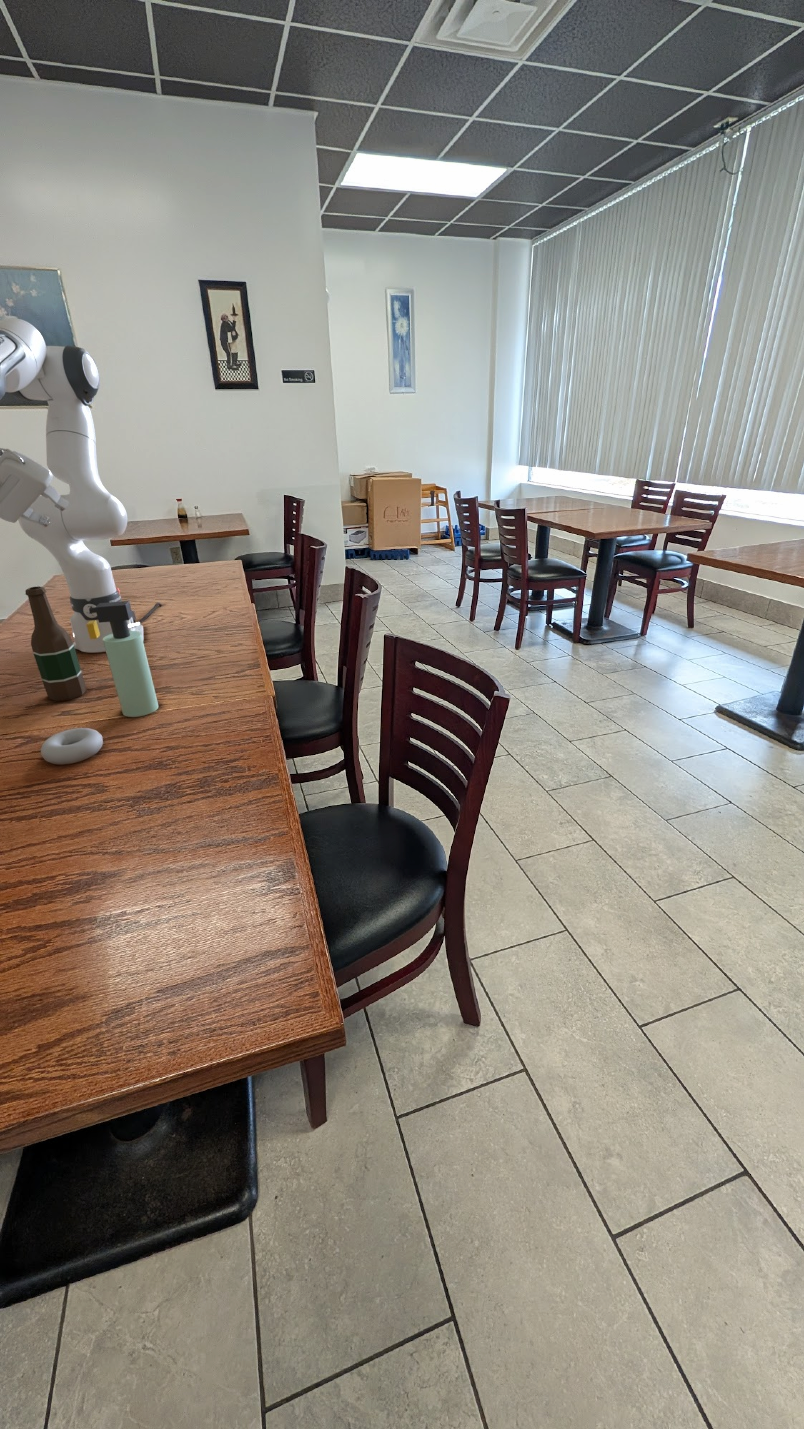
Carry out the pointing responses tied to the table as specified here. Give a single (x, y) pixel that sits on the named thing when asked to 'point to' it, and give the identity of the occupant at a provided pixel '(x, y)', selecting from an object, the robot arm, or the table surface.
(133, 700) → the spray bottle
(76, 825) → the table surface
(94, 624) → the block
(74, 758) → the donut
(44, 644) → the beer bottle
